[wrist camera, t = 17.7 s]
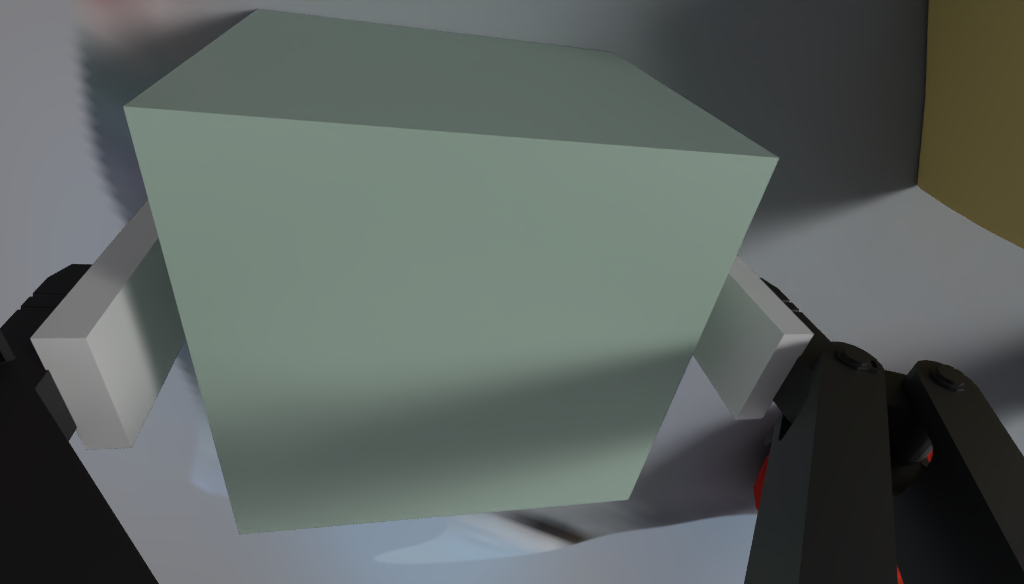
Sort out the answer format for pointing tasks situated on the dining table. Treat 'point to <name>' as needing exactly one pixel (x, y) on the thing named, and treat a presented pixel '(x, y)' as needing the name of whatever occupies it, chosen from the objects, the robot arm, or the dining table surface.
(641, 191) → the sage green cube
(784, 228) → the dining table surface
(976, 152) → the cheese
